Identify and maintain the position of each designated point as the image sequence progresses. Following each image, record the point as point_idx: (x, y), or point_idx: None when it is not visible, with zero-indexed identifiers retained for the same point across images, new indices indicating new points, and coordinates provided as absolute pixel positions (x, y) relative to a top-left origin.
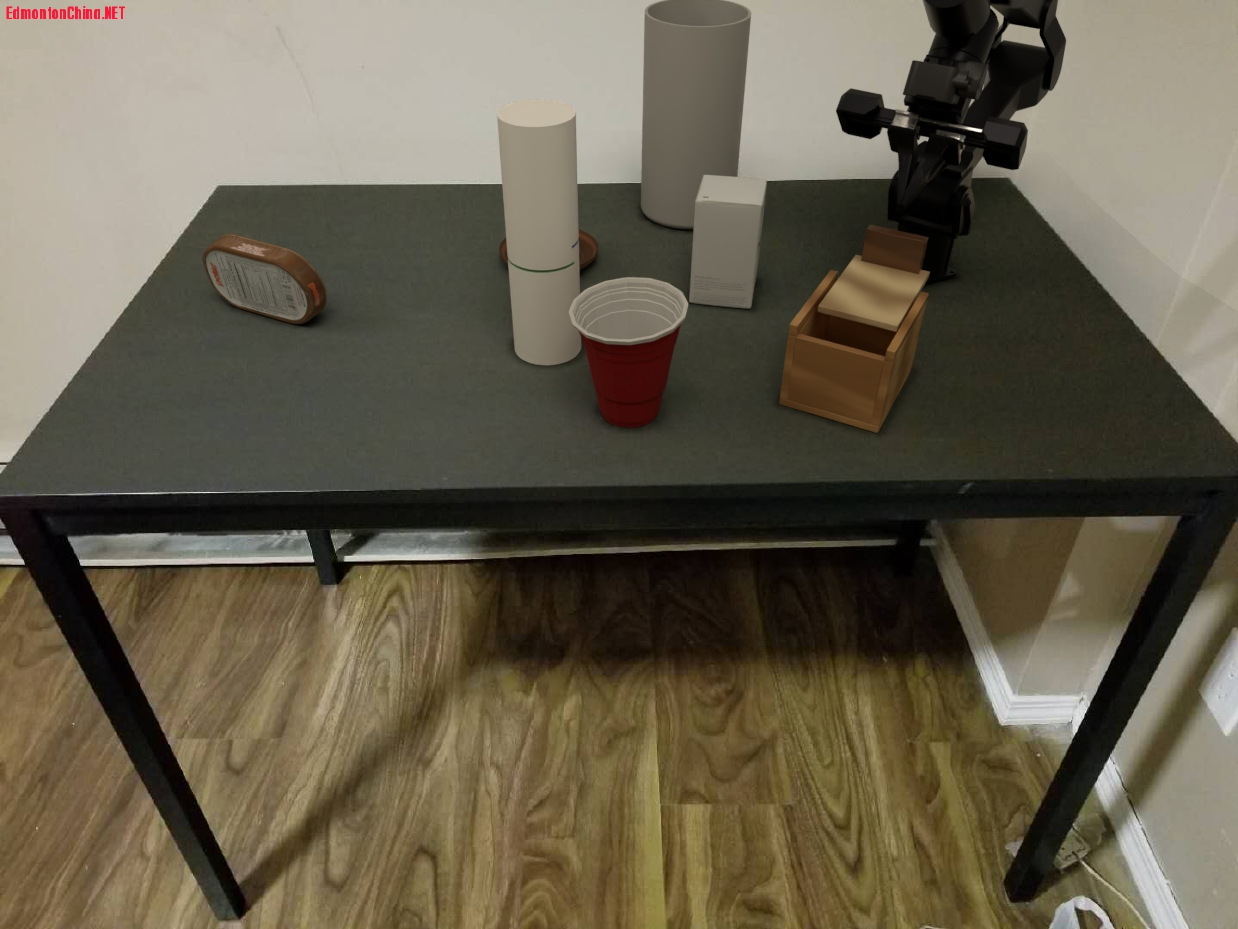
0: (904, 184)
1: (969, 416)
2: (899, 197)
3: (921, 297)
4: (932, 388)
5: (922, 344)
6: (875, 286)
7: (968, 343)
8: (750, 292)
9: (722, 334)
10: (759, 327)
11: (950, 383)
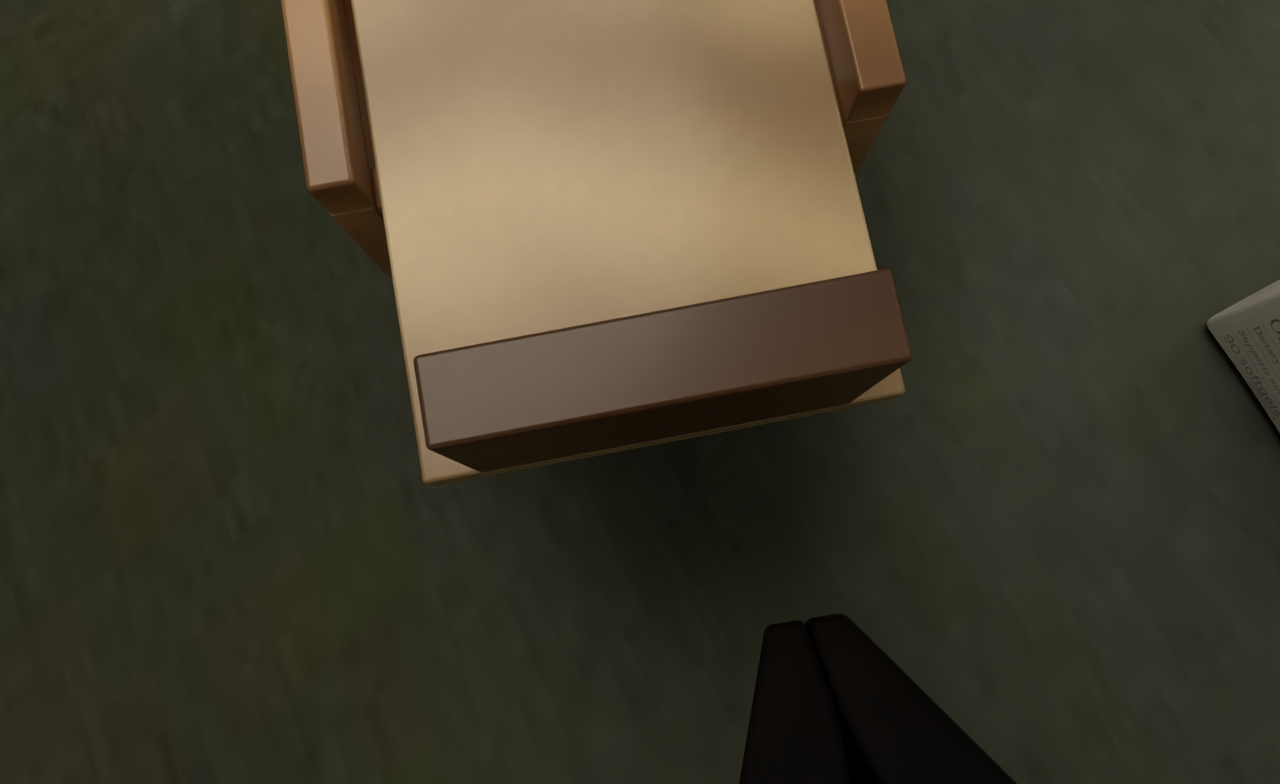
0: (895, 757)
1: (140, 192)
2: (858, 652)
3: (321, 114)
4: (318, 271)
5: (479, 545)
6: (609, 106)
7: (320, 684)
8: (1262, 299)
9: (1160, 93)
10: (1082, 230)
11: (273, 346)
